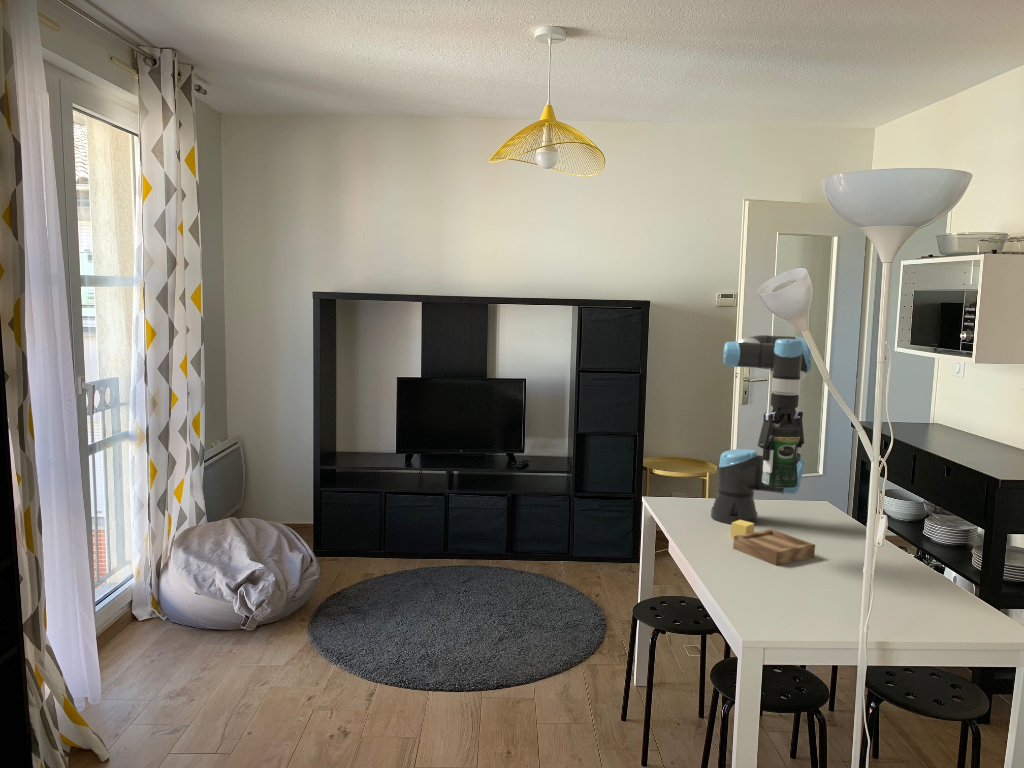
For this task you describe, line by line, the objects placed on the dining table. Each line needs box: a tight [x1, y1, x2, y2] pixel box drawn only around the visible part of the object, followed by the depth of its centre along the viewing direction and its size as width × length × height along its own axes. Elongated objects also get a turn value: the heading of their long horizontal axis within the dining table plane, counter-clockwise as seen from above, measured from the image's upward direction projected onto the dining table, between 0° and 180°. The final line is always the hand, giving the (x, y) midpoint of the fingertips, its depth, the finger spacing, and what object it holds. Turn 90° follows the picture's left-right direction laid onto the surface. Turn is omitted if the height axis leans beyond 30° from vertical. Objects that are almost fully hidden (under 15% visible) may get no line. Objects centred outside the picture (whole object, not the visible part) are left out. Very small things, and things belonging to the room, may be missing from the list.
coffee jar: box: [762, 423, 800, 488], centre depth 228 cm, size 10×8×19 cm
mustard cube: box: [730, 520, 756, 540], centre depth 244 cm, size 5×5×5 cm
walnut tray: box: [732, 528, 816, 566], centre depth 231 cm, size 16×16×4 cm
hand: (779, 470), depth 228 cm, fingers closed on coffee jar, 9 cm apart
